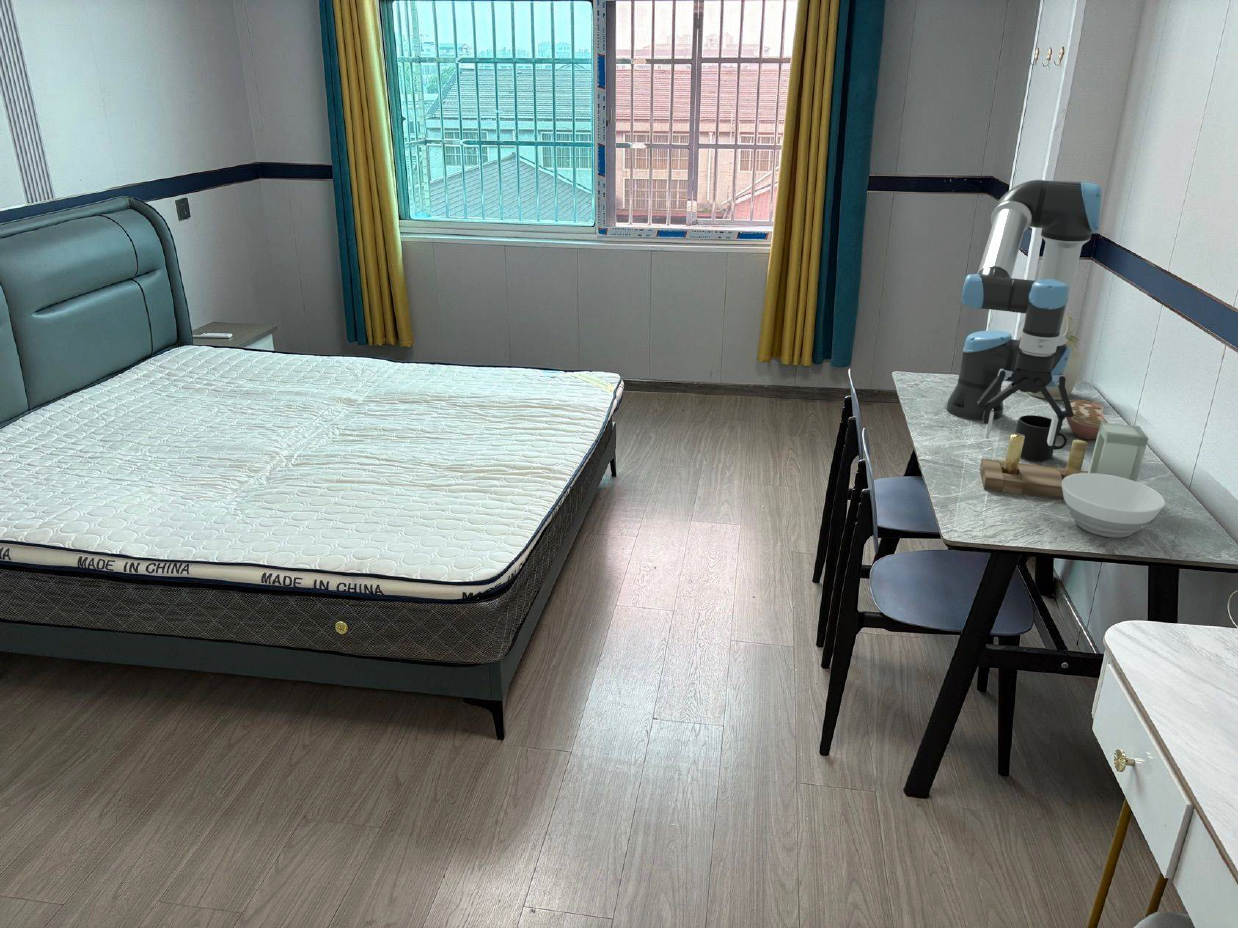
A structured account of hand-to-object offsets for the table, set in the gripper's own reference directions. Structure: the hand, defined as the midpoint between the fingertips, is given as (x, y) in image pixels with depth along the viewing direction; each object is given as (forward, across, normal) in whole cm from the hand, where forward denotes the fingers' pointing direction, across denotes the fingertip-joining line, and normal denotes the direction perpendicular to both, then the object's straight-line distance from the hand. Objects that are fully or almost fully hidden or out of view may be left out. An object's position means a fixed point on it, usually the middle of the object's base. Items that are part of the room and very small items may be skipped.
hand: (1017, 440), depth 208 cm
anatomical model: (+12, +24, +46) cm, 53 cm away
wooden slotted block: (+11, +9, -1) cm, 14 cm away
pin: (+11, 0, -1) cm, 11 cm away
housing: (+7, +21, -1) cm, 22 cm away
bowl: (+10, +17, -19) cm, 27 cm away
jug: (+13, +19, +76) cm, 80 cm away
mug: (+11, +9, +20) cm, 25 cm away
